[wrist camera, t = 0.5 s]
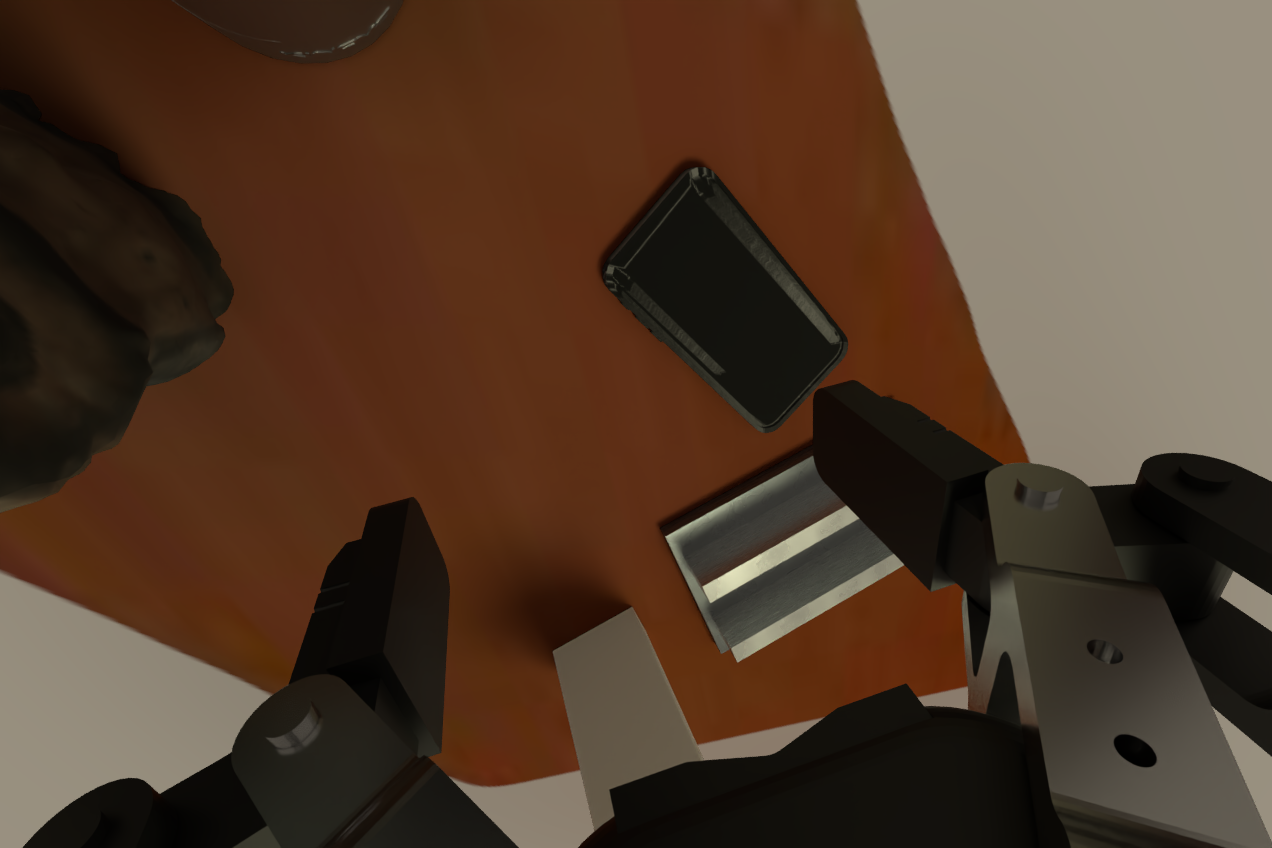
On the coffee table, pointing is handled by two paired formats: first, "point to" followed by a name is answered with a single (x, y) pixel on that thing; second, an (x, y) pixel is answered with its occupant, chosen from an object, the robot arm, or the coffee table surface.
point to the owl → (88, 300)
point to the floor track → (774, 555)
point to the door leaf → (620, 710)
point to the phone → (725, 300)
